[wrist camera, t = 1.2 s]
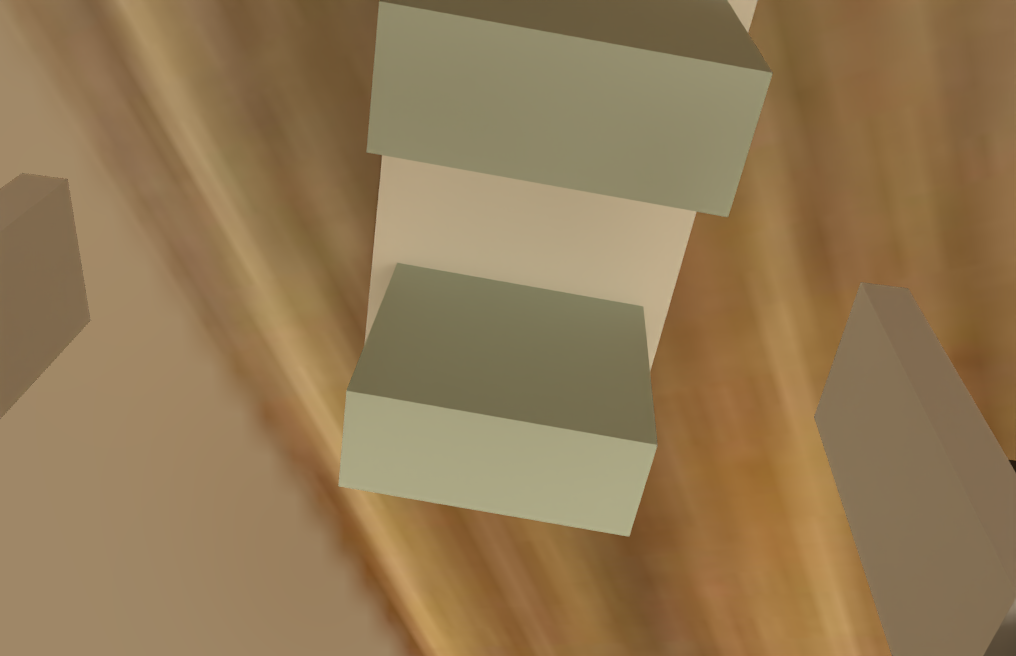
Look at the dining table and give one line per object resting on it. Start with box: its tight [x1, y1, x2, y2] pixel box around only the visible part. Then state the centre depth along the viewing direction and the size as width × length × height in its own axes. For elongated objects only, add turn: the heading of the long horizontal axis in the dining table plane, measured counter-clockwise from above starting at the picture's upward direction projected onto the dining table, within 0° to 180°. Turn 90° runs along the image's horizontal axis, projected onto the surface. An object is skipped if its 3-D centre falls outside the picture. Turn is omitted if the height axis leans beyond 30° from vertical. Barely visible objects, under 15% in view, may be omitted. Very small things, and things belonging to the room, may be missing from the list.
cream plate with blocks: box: [339, 0, 773, 536], centre depth 31 cm, size 17×12×10 cm
